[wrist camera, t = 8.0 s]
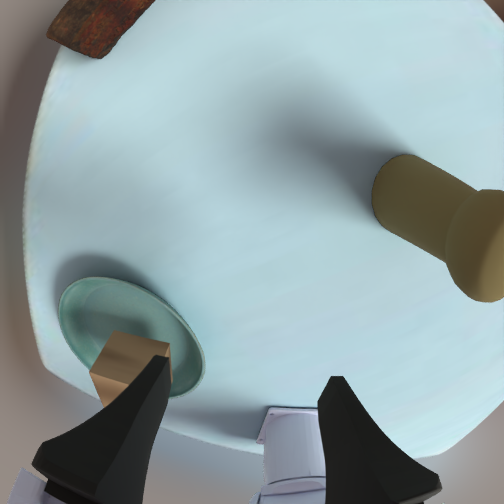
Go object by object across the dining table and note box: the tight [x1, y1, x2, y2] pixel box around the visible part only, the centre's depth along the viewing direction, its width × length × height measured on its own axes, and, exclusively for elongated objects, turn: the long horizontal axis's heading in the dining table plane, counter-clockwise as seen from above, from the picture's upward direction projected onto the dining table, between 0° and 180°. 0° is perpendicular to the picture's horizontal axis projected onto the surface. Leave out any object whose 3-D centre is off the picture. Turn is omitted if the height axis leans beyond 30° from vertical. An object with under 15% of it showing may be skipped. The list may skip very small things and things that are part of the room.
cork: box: [372, 155, 504, 302], centre depth 12 cm, size 6×6×11 cm
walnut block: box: [89, 330, 173, 408], centre depth 19 cm, size 5×5×5 cm
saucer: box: [58, 277, 205, 399], centre depth 22 cm, size 15×15×3 cm
